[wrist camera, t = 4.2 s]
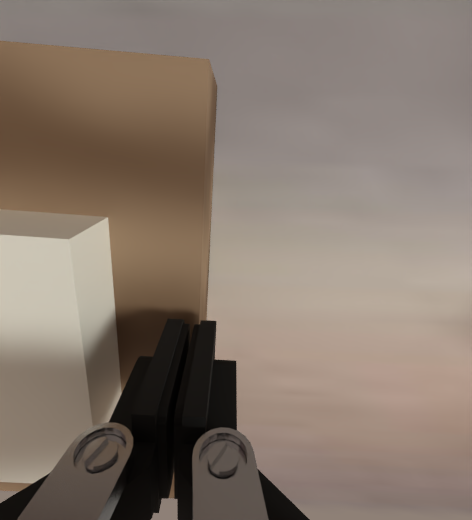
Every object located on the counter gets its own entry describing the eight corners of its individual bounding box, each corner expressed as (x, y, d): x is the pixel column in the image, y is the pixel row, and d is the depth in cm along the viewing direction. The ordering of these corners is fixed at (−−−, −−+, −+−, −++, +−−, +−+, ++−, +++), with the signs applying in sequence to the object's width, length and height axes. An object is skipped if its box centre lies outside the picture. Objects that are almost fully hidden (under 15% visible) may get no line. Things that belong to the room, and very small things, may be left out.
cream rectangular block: (-88, 203, 9) (-189, 221, 7) (108, 216, 10) (69, 239, 7) (-22, 418, 13) (-77, 478, 10) (124, 426, 13) (100, 486, 11)
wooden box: (-156, 54, 11) (-346, 10, 8) (217, 86, 12) (208, 59, 8) (-37, 413, 18) (-110, 485, 14) (201, 426, 18) (192, 498, 14)
